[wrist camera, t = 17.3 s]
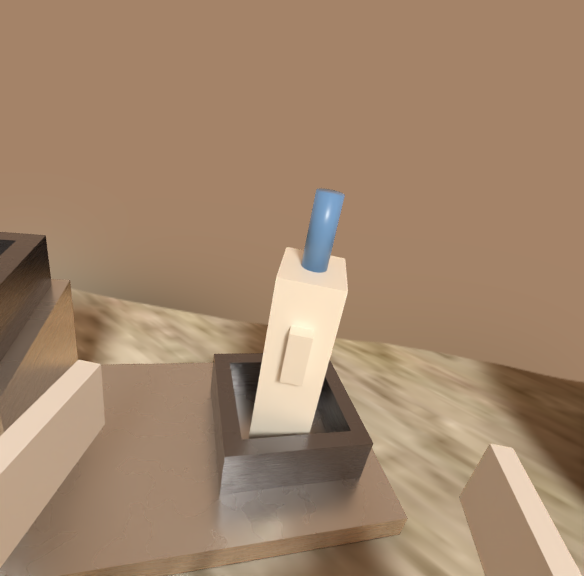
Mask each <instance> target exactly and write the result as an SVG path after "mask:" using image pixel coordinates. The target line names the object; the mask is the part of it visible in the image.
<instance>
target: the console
mask: <svg viewBox="0 0 584 576" xmlns="http://www.w3.org/2000/svg"><path fill="white" fill-rule="evenodd" d="M262 358H263V353H257V354H214V359H213V363H176V364H120V365H101V370H102V386H103V401H104V417H105V425H104V426H103V427H102V429H101V430H100V432H99V433H98V434H97V436H96V437H95V438H94V440H93V441H92V443H91V444H90V445H89V447H88V448H87V449H86V451H85V452H84V454H83V455H82V456H81V458H80V459H79V460H78V462H77V463H76V465H75V466H74V467H73V469H72V470H71V471H70V473H69V474H68V476H67V477H66V478H65V480H64V481H63V483H62V484H61V485H60V487H59V488H58V489H57V491H56V492H55V494H54V495H53V496H52V498H51V499H50V500H49V502H48V503H47V505H46V506H45V507H44V509H43V510H42V511H41V513H40V514H39V516H38V517H37V518H36V520H35V521H34V522H33V524H32V525H31V527H30V528H29V529H28V531H27V532H26V533H25V535H24V536H23V538H22V539H21V540H20V542H19V543H18V544H17V546H16V547H15V549H14V550H13V551H12V553H11V554H10V555H9V557H8V558H7V560H6V561H5V562H4V564H3V565H2V566H1V568H0V576H167V575H172V574H178V573H184V572H189V571H195V570H201V569H206V568H212V567H218V566H223V565H229V564H234V563H240V562H246V561H251V560H257V559H263V558H268V557H274V556H280V555H285V554H291V553H297V552H302V551H308V550H314V549H319V548H325V547H330V546H336V545H342V544H347V543H353V542H359V541H364V540H370V539H376V538H381V537H387V536H393V535H398V534H400V532H401V530H402V529H403V527H404V525H405V523H406V521H407V519H408V518H407V516H406V514H405V512H404V510H403V508H402V506H401V505H400V503H399V501H398V499H397V497H396V495H395V493H394V491H393V489H392V487H391V485H390V483H389V481H388V479H387V477H386V475H385V473H384V471H383V469H382V467H381V465H380V463H379V461H378V459H377V457H376V455H375V454H374V452H373V450H372V445H373V442H372V440H371V438H370V436H369V434H368V432H367V430H366V428H365V427H364V425H363V423H362V421H361V419H360V417H359V415H358V413H357V411H356V409H355V407H354V405H353V404H352V402H351V400H350V398H349V396H348V394H347V392H346V390H345V388H344V386H343V384H342V382H341V380H340V379H339V377H338V375H337V373H336V371H335V369H334V367H333V365H332V363H331V361H330V360H329V363H328V367H327V371H326V374H325V378H324V382H323V386H322V389H321V393H320V397H319V400H318V404H317V408H316V411H315V415H314V419H313V422H312V426H311V430H310V433H309V434H305V435H293V436H280V437H268V438H255V439H249V433H250V427H251V421H252V416H253V410H254V404H255V398H256V392H257V387H258V381H259V375H260V369H261V363H262ZM77 361H78V355H77V345H76V335H75V325H74V314H73V304H72V294H71V284H70V280H61V279H51V276H50V267H49V259H48V251H47V242H46V236H45V235H34V234H20V233H6V232H0V436H1V435H2V434H3V433H4V432H5V431H6V430H7V429H8V428H9V427H10V426H11V425H12V424H13V423H14V422H15V421H16V420H17V419H18V418H19V417H20V416H21V415H22V414H23V413H24V412H25V411H27V410H28V409H29V408H30V407H31V406H32V405H33V404H34V403H35V402H36V401H37V400H38V399H39V398H40V397H41V396H42V395H43V394H44V393H45V392H46V391H47V390H48V389H49V388H50V387H51V386H52V385H53V384H54V383H55V382H56V381H57V380H58V379H59V378H60V377H61V376H62V375H63V374H64V373H65V372H66V371H67V370H68V369H69V368H71V367H72V366H73V365H74V364H75V363H76V362H77Z"/></svg>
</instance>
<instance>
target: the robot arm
mask: <svg viewBox="0 0 584 576" xmlns="http://www.w3.org/2000/svg"><path fill="white" fill-rule="evenodd" d="M104 425H105V417H104V401H103V386H102V370H101V364H98V363H93V362H88V361H84V360H78V361H77V362H76V363H75V364H74V365H73V366H72V367H71V368H69V369H68V370H67V371H66V372H65V373H64V374H63V375H62V376H61V377H60V378H59V379H58V380H57V381H56V382H55V383H54V384H53V385H52V386H51V387H50V388H49V389H48V390H47V391H46V392H45V393H44V394H43V395H42V396H41V397H40V398H39V399H38V400H37V401H36V402H35V403H34V404H33V405H32V406H31V407H30V408H29V409H28V410H27V411H25V412H24V413H23V414H22V415H21V416H20V417H19V418H18V419H17V420H16V421H15V422H14V423H13V424H12V425H11V426H10V427H9V428H8V429H7V430H6V431H5V432H4V433H3V434H2V435H1V436H0V568H1V566H2V565H3V564H4V562H5V561H6V560H7V558H8V557H9V555H10V554H11V553H12V551H13V550H14V549H15V547H16V546H17V544H18V543H19V542H20V540H21V539H22V538H23V536H24V535H25V533H26V532H27V531H28V529H29V528H30V527H31V525H32V524H33V522H34V521H35V520H36V518H37V517H38V516H39V514H40V513H41V511H42V510H43V509H44V507H45V506H46V505H47V503H48V502H49V500H50V499H51V498H52V496H53V495H54V494H55V492H56V491H57V489H58V488H59V487H60V485H61V484H62V483H63V481H64V480H65V478H66V477H67V476H68V474H69V473H70V471H71V470H72V469H73V467H74V466H75V465H76V463H77V462H78V460H79V459H80V458H81V456H82V455H83V454H84V452H85V451H86V449H87V448H88V447H89V445H90V444H91V443H92V441H93V440H94V438H95V437H96V436H97V434H98V433H99V432H100V430H101V429H102V427H103V426H104ZM459 498H460V501H461V504H462V507H463V510H464V513H465V516H466V519H467V522H468V525H469V528H470V531H471V534H472V537H473V540H474V543H475V546H476V549H477V552H478V555H479V558H480V561H481V564H482V567H483V570H484V573H485V576H582V575H581V573H580V571H579V569H578V567H577V566H576V564H575V562H574V560H573V558H572V556H571V555H570V553H569V551H568V549H567V547H566V545H565V543H564V542H563V540H562V538H561V536H560V534H559V532H558V531H557V529H556V527H555V525H554V523H553V521H552V519H551V518H550V516H549V514H548V512H547V510H546V508H545V506H544V505H543V503H542V501H541V499H540V497H539V495H538V494H537V492H536V490H535V488H534V486H533V484H532V482H531V481H530V479H529V477H528V475H527V473H526V471H525V470H524V468H523V466H522V464H521V462H520V460H519V458H518V457H517V455H516V453H515V451H514V449H513V448H510V447H505V446H500V445H495V444H489V446H488V448H487V449H486V451H485V453H484V455H483V456H482V458H481V460H480V462H479V463H478V465H477V467H476V469H475V470H474V472H473V474H472V475H471V477H470V479H469V481H468V482H467V484H466V486H465V488H464V489H463V491H462V493H461V495H460V496H459Z"/></svg>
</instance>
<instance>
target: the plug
mask: <svg viewBox="0 0 584 576" xmlns="http://www.w3.org/2000/svg"><path fill="white" fill-rule="evenodd" d="M344 196H345V195H344V194H343V193H340V192H337V191H334V190H330V189H317V190H316V194H315V199H314V204H313V209H312V214H311V219H310V224H309V229H308V234H307V239H306V244H305V249H304V250H300V249H295V248H290V247H287V248H286V251H285V253H284V256H283V259H282V262H281V265H280V268H279V271H278V274H277V277H276V282H275V288H274V294H273V300H272V305H271V311H270V318H269V323H268V329H267V334H266V340H265V346H264V352H263V358H262V363H261V369H260V375H259V381H258V387H257V392H256V398H255V404H254V410H253V416H252V421H251V427H250V433H249V439H255V438H268V437H280V436H293V435H305V434H309V433H310V430H311V426H312V422H313V419H314V415H315V411H316V408H317V404H318V400H319V397H320V393H321V389H322V386H323V382H324V378H325V374H326V371H327V367H328V363H329V360H330V356H331V352H332V349H333V345H334V341H335V338H336V334H337V330H338V327H339V322H340V319H341V315H342V312H343V308H344V304H345V301H346V297H347V293H348V286H347V275H346V264H345V258H340V257H335V256H330V255H331V251H332V247H333V242H334V238H335V234H336V229H337V225H338V221H339V217H340V212H341V208H342V204H343V200H344Z"/></svg>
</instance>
